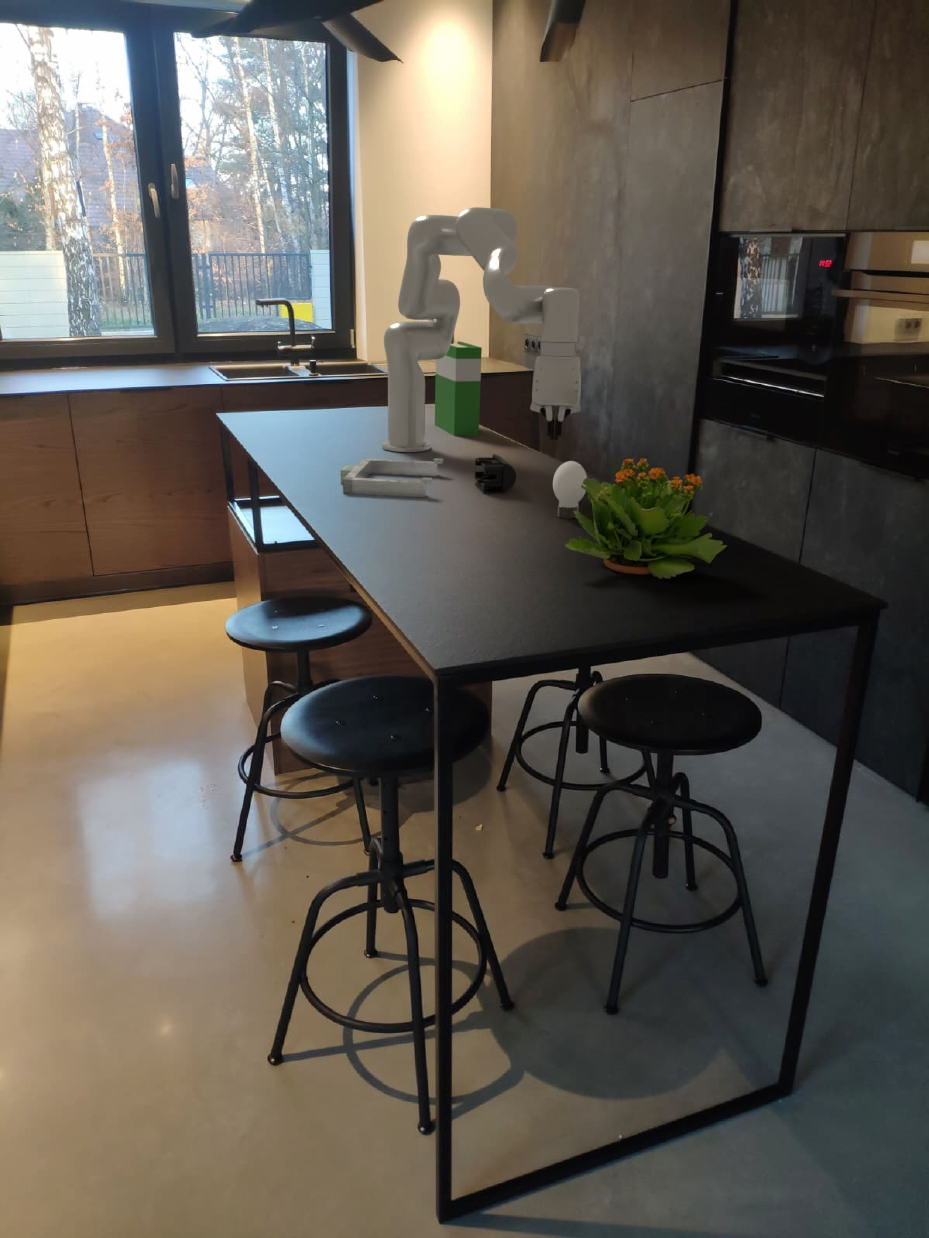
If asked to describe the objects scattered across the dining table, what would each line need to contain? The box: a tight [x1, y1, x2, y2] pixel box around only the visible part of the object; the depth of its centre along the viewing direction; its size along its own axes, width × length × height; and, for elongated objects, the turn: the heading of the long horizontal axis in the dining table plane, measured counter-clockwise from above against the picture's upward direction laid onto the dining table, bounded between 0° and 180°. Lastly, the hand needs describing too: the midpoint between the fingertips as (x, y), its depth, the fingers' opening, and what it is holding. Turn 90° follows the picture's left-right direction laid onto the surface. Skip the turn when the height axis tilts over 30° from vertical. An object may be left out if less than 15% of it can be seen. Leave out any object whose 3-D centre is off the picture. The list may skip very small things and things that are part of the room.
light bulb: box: [552, 460, 588, 519], centre depth 186 cm, size 7×7×11 cm
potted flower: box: [564, 458, 728, 580], centre depth 156 cm, size 25×24×18 cm
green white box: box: [434, 340, 483, 437], centre depth 270 cm, size 18×7×24 cm, turn 20°
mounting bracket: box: [340, 457, 444, 498], centre depth 209 cm, size 22×21×4 cm
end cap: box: [474, 454, 518, 495], centre depth 206 cm, size 10×7×7 cm
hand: (554, 439), depth 202 cm, fingers closed
